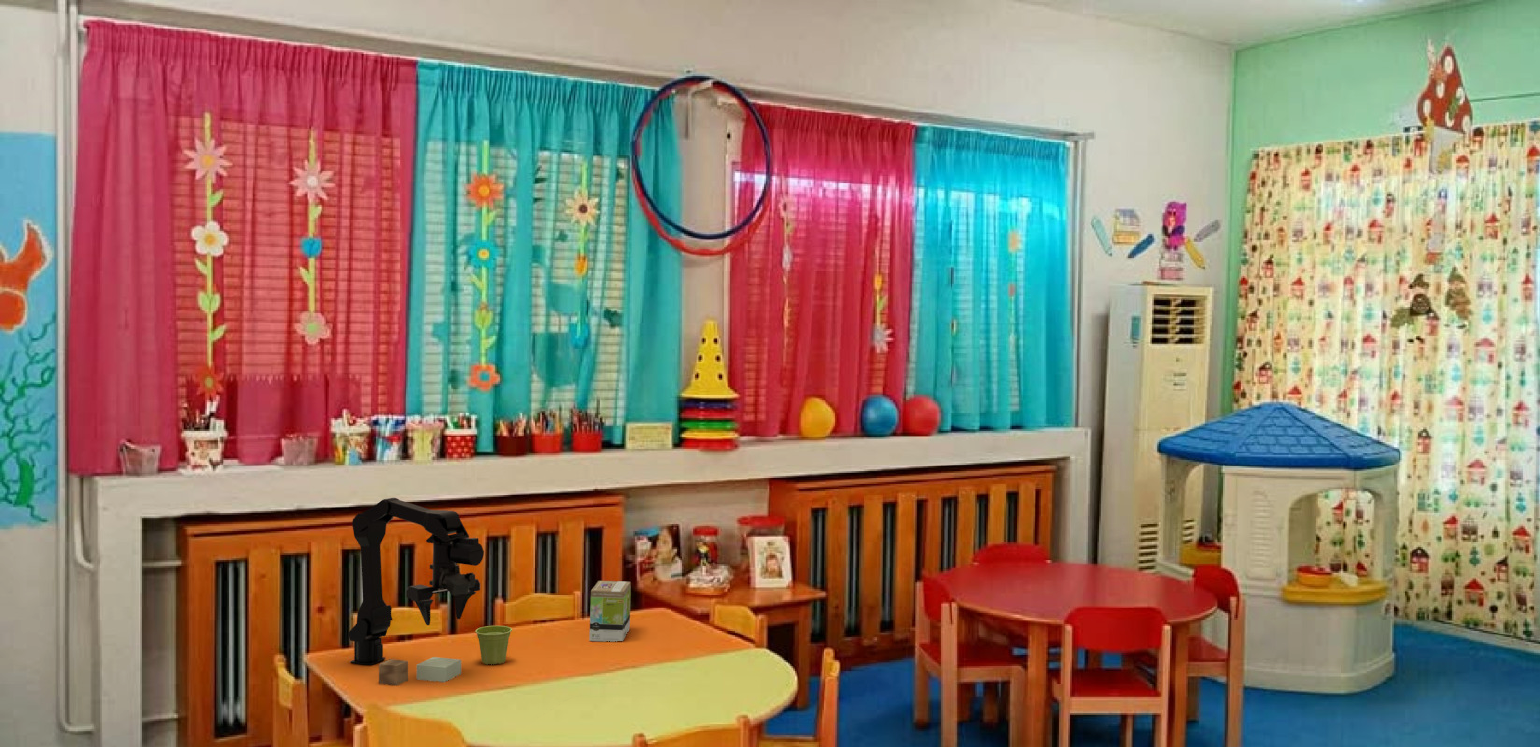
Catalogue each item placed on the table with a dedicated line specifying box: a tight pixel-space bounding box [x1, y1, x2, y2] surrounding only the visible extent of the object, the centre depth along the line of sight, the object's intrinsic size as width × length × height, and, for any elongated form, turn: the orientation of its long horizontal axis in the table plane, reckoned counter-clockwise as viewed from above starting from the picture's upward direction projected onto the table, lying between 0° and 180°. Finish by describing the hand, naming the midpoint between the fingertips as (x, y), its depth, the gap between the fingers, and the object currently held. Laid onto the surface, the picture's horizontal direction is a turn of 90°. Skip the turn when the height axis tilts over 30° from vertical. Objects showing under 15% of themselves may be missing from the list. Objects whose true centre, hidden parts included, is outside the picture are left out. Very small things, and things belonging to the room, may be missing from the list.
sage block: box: [416, 656, 462, 683], centre depth 324 cm, size 8×8×4 cm
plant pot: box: [475, 625, 513, 666], centre depth 339 cm, size 9×9×9 cm
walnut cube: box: [378, 658, 409, 687], centre depth 319 cm, size 5×5×5 cm
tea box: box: [588, 580, 632, 643], centre depth 369 cm, size 15×10×15 cm
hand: (443, 622), depth 326 cm, fingers open, 9 cm apart
